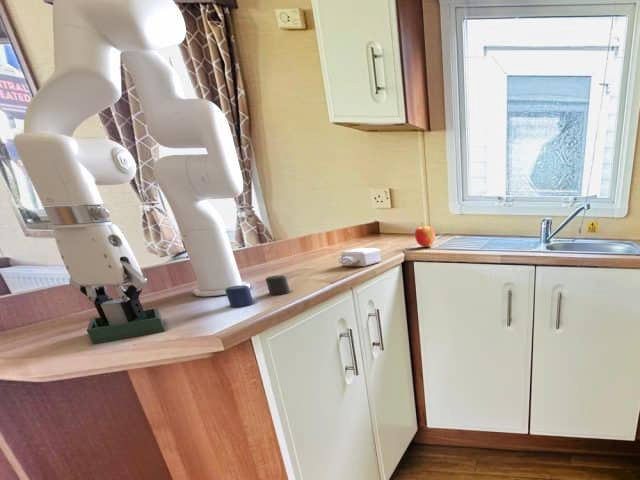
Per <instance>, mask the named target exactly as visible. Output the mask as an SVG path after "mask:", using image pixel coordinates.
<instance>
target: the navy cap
mask: <svg viewBox="0 0 640 480" xmlns="http://www.w3.org/2000/svg"><path fill="white" fill-rule="evenodd" d="M250 289H251V288H249V287H248V286H245V285H240V286H233V287H229V288H227V289H226V290H225V291H226V296H227V300H228V302H229V306H230V307H231V308H243V307H248V306H252V305H253V304H254V300H253V295H252V293H251V290H250Z"/></svg>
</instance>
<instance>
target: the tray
mask: <svg viewBox="0 0 640 480" xmlns="http://www.w3.org/2000/svg"><path fill="white" fill-rule="evenodd" d="M143 310H144V312H145V315H146V319H145V320H140V321H134V322H128V323H122V324H116V325H110V324H109V323H103V322H102V320H101V318H100V316H98V317H92V318H90V319H89V323H88V325H87V328H86V332H87V334H88V336H89V338H90V340H91V342H92V344H93V345H97V344H102V343H107V342H113V341H118V340H124V339H130V338H136V337H140V336H146V335H152V334H156V333H163V332H165V331H166V330H165V325H164V321H163V318H162V316H161V313H160V311H159V309H158V307H154V308H148V309H143Z"/></svg>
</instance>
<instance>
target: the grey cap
mask: <svg viewBox="0 0 640 480" xmlns="http://www.w3.org/2000/svg"><path fill="white" fill-rule="evenodd" d="M120 302H123V300H122V299H121V298H118V299H117V298H116V299H113V300H111V301H106V302H103V303H102V304H101V307H102V309H103V311H104V313H105V316H106V318H107V320H108V322H109V324H110V325H116V324H122V323H128V320H127V317H126V315H125V313H124V311H123V308H122V306H121V303H120Z"/></svg>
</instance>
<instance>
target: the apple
mask: <svg viewBox="0 0 640 480" xmlns="http://www.w3.org/2000/svg"><path fill="white" fill-rule="evenodd" d="M414 238H415V241H416V243H417V244H418V245H419V246H421V247H424V248H429V247H432V245H434V242H435V239H436V233H435V230H434V228H433V227H432V226H430V225H424V223H421V225H419V226H418V227H417V228H416V230H415V231H414Z"/></svg>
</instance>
